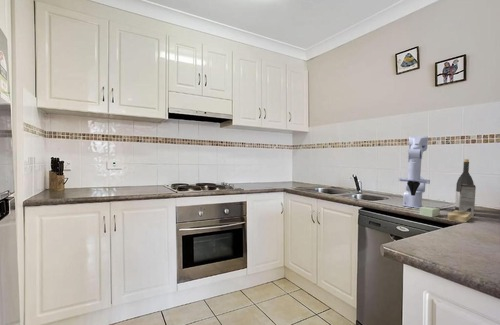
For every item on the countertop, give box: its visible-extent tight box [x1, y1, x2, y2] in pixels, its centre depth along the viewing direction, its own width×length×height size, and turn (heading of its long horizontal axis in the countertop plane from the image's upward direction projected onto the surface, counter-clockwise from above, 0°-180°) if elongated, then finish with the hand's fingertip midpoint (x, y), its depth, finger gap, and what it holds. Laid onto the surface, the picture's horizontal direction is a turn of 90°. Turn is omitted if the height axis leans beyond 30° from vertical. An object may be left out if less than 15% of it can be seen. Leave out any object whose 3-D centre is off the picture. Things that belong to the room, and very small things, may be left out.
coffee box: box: [458, 184, 477, 217], centre depth 141 cm, size 9×6×16 cm
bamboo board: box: [446, 209, 473, 223], centre depth 129 cm, size 7×16×2 cm, turn 131°
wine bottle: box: [454, 158, 475, 211], centre depth 151 cm, size 8×8×30 cm
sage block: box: [419, 205, 441, 218], centre depth 136 cm, size 6×8×4 cm
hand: (413, 195), depth 142 cm, fingers closed
